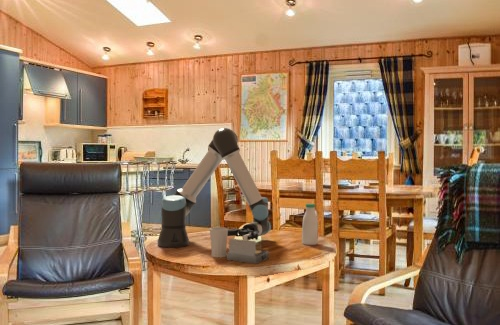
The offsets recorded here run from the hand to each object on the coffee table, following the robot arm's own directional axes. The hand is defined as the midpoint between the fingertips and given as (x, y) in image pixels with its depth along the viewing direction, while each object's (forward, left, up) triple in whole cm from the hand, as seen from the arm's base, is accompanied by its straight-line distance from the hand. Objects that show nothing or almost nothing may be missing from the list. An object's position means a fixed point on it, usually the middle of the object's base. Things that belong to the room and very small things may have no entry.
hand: (230, 237), depth 220 cm
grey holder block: (+14, -9, -7) cm, 18 cm away
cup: (0, -10, -7) cm, 12 cm away
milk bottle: (+25, +36, -7) cm, 45 cm away
